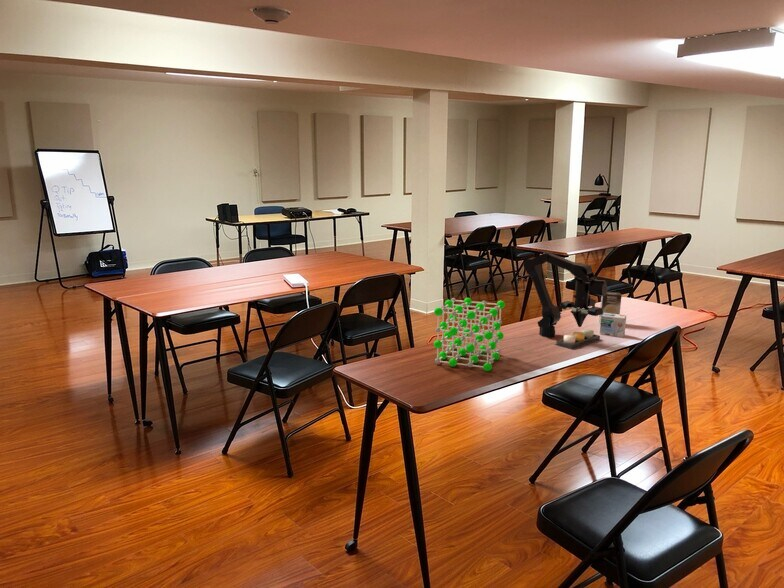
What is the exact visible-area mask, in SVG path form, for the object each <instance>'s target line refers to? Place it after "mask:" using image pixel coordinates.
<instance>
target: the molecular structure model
mask: <svg viewBox="0 0 784 588" xmlns="http://www.w3.org/2000/svg"><path fill="white" fill-rule="evenodd" d="M455 302H460V303H461V302H462V303H461V304H455ZM472 304H476V305H472ZM486 305H491V306H492V305H493V306H494V305H495V306H494V307H490V306H489V307H487V306H486ZM505 306H506V304H505V301H503V300H498V301H497V303H494V302H488V301H486V300H482V301H473V300H472V298H470V297H465V298H464V300H461V299H460V300H459V299H456V298H455V297H452V298H451V299H447V300H445V302H444V305H441V306H440V307H435V309H434V311H433V312H434V315H435V316H437V319H436V320H437V321H436V322H437V324H436V325H437V327H436V328H435V332H436V333H437V334H436V336H437V337H436V340H435V341H434V342H433V347H434V348H436V358H435V359H434V362H435V363H436V364H439V363H444V364H449V366H450V367H451V368H452V367H456V366H457V365H458V366H459V365H460V366H467V367H468V368H472V367H475V368H481V369H482V368H483V370H484V371H485V372H490V371H491V370H492V368H493V365H492V364H493V363H494V361H498V360H499V359H500V354H501V353H502V351H501V349H500V347H501V340H503V339H504V335H505V334H504V332H502V331H501V325H502V324H503V321H502V309H504V308H505ZM465 308H466V309H465ZM469 308H474V309H469ZM446 310H447V311H446ZM450 310H452V311H451V312H450ZM485 310H489V311H485ZM498 311H499V313H498ZM465 312H466V313H465ZM445 314H447V318H446V320H445ZM485 314H486V315H485ZM498 314H499V318H498ZM441 315H442V321H441V322H440V316H441ZM460 316H462V317H460ZM477 317H478V318H477ZM494 318H495V319H494ZM469 321H470V322H469ZM473 321H474V322H473ZM450 323H452V325H450ZM455 324H456V326H455ZM469 326H470V327H469ZM481 327H482V328H481ZM485 327H487V329H485ZM490 327H491V328H490ZM440 332H441V333H442V335H441V336H442V337H441V338H440V335H439V334H440ZM460 334H461V335H460ZM464 340H465V341H464ZM468 340H469V341H468ZM472 341H473V342H472ZM486 341H487V343H485V342H486ZM445 342H446V344H444V343H445ZM481 342H482V343H481ZM497 344H498V345H497ZM445 347H446V348H445ZM476 347H477V348H476ZM444 348H445V350H444ZM439 349H441V351H440V352H439ZM455 349H456V350H455ZM449 353H452V355H448V354H449ZM485 353H486V354H485ZM489 354H490V355H489ZM466 355H468V356H469V357H467V358H465V356H466ZM479 357H486V360H485V359H484V360H482V359H479ZM446 358H448V359H449V358H450V359H449V360H448V361H447V360H446V361H443V360H445V359H446ZM458 360H465V361H466V360H467V361H468V363H461V362H460V363H459V362H458ZM478 362H483V363H484V364H483V365H476V364H477V363H478ZM474 363H475V364H474Z"/></svg>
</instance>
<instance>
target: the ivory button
mask: <svg viewBox="0 0 784 588" xmlns="http://www.w3.org/2000/svg"><path fill="white" fill-rule="evenodd" d="M575 338H576V337H575V336H574V335H573V334H565V335H563V339H564V342H565V343H569V344H573V343H575Z"/></svg>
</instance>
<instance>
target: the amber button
mask: <svg viewBox="0 0 784 588" xmlns="http://www.w3.org/2000/svg"><path fill="white" fill-rule="evenodd" d="M572 335H574V336H575V337H576V338H575V340H578V341H582V340H584V338H585V333H582V331H575V332H573V333H572Z"/></svg>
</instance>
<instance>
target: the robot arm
mask: <svg viewBox="0 0 784 588" xmlns="http://www.w3.org/2000/svg"><path fill="white" fill-rule="evenodd" d="M545 263H548V264H551V265H554V266H556V267H559V268H561V269H563V270H566V271H567V272H569V273H570V274H571V275H572V276H574V278H573V279H572V280H571V282H572V283H575V290H574V291H575V293H574V294H573V298H574V301H570V300H565V301H562V302H561V303H560V305H556V306H555V305H554V304H553V302H552V299H551V296H550V294H549V291H548V288H547V286H546V282H545V280H544V278H543V266H542V265H544V264H545ZM522 267H523V269H524V271H525V273H526V274H527V275H528V276H529V277H530V278H531V280H532V283H533V287H534V288H535V291H536V294H537V295H538V299H539V302H540V304H541V316H542V318H541V319H540V320H538V321H537V325H538V328H539V334H538V335H539V336H540V337H543V338H550V339H553V338H555V337H556V329H555V328H556V326H557V324H558V322H559V321H560V320H561V317H562V316H561V315H562V312H561V311H560V309H562V310H567V309H568V308H569V309H571V311H569V312H570V313H572V315H573V317H574V320H575V322H576V325H577V327H579V328H581V327H582V325H583V323H584V321H585V320H586V317H587V316H588V315H589V316H594V317H598V316H600V315H601V314H603V309H602V308H600V307H599V306H596V302H597V300H596V299H594V298H591V295H593V296H600V297H601V296H605V295H606V293H607V292H608V284H607V281H606V280H605V279H604V280H603V279H602V280H601V279H600V280H599V279H598V278H597V276H596V275H595V273H594V271H593V268H592V266H591V265H590V264H588V263H581V262H577V261H576V262H574V261H572V260H569V259H567V258H564V257H562V256H559V255H557V254H554V253H552V252H550V251H547V252H543V253H541V254H540V255H538V256H534V257H531V258H527V259H525V260H524V262H523V264H522Z"/></svg>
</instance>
